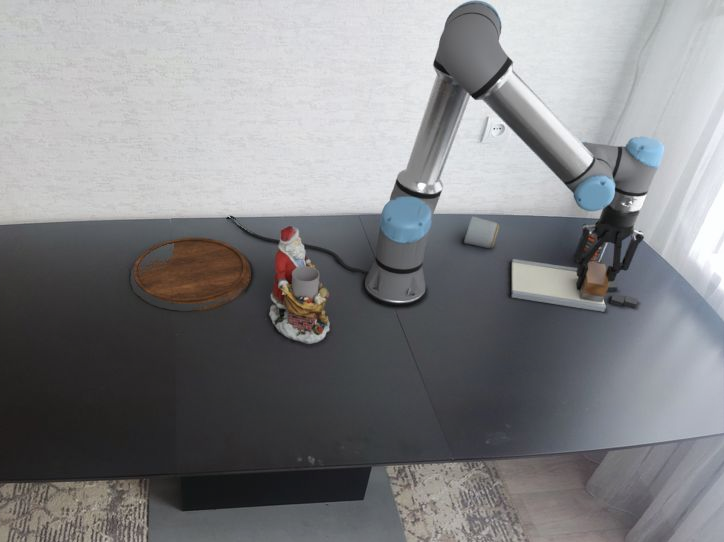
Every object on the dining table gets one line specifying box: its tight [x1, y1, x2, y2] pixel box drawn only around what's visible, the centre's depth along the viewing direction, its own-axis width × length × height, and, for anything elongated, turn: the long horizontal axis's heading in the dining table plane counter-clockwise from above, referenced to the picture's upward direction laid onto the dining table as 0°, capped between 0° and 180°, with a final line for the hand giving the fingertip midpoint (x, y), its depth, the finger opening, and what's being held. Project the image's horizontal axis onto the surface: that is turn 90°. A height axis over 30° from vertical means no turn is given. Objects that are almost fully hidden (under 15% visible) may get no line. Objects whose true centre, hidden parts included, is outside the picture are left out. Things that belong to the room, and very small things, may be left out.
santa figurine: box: [268, 225, 331, 345], centre depth 151 cm, size 17×14×25 cm
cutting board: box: [133, 237, 252, 312], centre depth 174 cm, size 32×32×2 cm
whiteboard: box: [510, 258, 607, 313], centre depth 170 cm, size 22×16×1 cm
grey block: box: [609, 293, 626, 308], centre depth 165 cm, size 3×3×1 cm
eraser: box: [578, 262, 609, 302], centre depth 166 cm, size 5×10×5 cm, turn 164°
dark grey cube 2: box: [607, 281, 618, 292], centre depth 170 cm, size 3×3×1 cm
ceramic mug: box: [463, 215, 500, 249], centre depth 185 cm, size 11×8×8 cm
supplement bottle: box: [581, 221, 609, 263], centre depth 176 cm, size 6×6×11 cm
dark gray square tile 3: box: [622, 295, 639, 309], centre depth 164 cm, size 3×3×1 cm
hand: (590, 288), depth 167 cm, fingers closed on eraser, 5 cm apart
